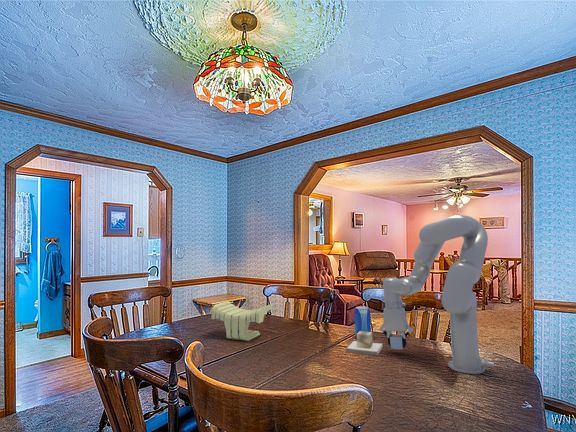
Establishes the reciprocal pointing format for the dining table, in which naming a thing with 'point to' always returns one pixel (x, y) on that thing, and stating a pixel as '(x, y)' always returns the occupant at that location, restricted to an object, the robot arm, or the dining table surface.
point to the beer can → (362, 319)
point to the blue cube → (396, 342)
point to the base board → (365, 349)
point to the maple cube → (364, 339)
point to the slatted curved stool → (239, 319)
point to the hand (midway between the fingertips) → (397, 346)
